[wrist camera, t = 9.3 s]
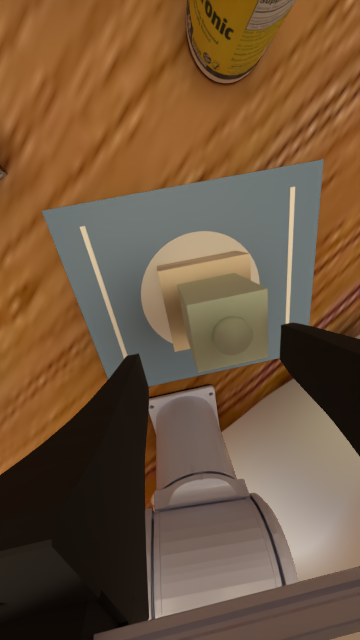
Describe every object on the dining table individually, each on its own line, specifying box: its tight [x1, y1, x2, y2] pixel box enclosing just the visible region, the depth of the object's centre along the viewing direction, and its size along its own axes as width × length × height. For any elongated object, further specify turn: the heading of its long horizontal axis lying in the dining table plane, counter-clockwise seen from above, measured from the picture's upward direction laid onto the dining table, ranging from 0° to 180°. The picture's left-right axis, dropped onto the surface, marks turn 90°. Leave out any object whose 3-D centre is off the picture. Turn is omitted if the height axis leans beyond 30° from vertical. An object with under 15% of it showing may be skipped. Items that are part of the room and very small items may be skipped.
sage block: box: [177, 273, 268, 373], centre depth 14 cm, size 4×4×6 cm
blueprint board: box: [42, 159, 324, 387], centre depth 18 cm, size 18×22×4 cm
